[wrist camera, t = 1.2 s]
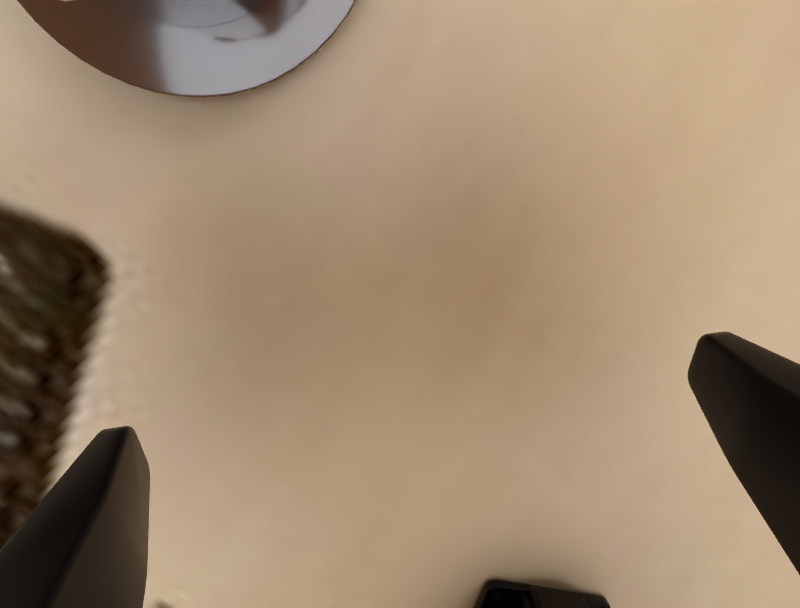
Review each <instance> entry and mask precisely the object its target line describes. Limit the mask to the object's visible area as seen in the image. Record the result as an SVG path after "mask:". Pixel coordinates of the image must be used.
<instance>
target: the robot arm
mask: <svg viewBox="0 0 800 608" xmlns="http://www.w3.org/2000/svg"><path fill="white" fill-rule="evenodd" d="M688 381H689V384H690V387H691V389H692V391H693V393H694V395H695V397H696V399H697V401H698V403H699V405H700V407H701V409H702V411H703V413H704V415H705V417H706V419H707V421H708V423H709V425H710V427H711V429H712V431H713V433H714V435H715V437H716V439H717V441H718V443H719V445H720V447H721V449H722V451H723V453H724V455H725V457H726V458H727V460H728V462H729V464H730V466H731V467H732V469H733V471H734V472H735V474H736V476H737V477H738V479H739V480H740V482H741V483H742V485H743V487H744V488H745V490H746V491H747V493H748V494H749V496H750V498H751V499H752V501H753V502H754V504H755V505H756V507H757V509H758V510H759V512H760V513H761V515H762V516H763V518H764V520H765V521H766V523H767V524H768V526H769V527H770V529H771V531H772V532H773V534H774V535H775V537H776V538H777V540H778V542H779V543H780V545H781V546H782V548H783V549H784V551H785V553H786V554H787V556H788V557H789V559H790V560H791V562H792V564H793V565H794V567H795V568H796V570H797V571H798V573H799V575H800V364H798V363H795V362H793V361H791V360H789V359H787V358H785V357H782V356H780V355H778V354H776V353H774V352H771V351H769V350H767V349H765V348H763V347H760V346H758V345H756V344H754V343H752V342H750V341H747V340H745V339H743V338H741V337H739V336H736V335H734V334H732V333H730V332H717V333H711V334H705V335H703V336H702V337H701V338H700V339H699V340H698V343H697V346H696V349H695V351H694V354H693V357H692V360H691V363H690V366H689V369H688ZM149 493H150V471H149V465H148V462H147V459H146V457H145V454H144V452H143V449H142V447H141V444H140V442H139V440H138V437H137V435H136V433H135V431H134V429H133V428H132V427H130V426H123V427H117V428H111V429H105V430H102V431H101V432H100V433H98V434H97V435H96V437H95V438H94V439H93V440H92V441H91V442H90V444H89V445H88V446H87V447H86V448H85V450H84V451H83V452H82V453H81V454H80V456H79V457H78V458H77V459H76V460H75V462H74V463H73V464H72V465H71V466H70V467H69V469H68V470H67V471H66V472H65V473H64V475H63V476H62V477H61V478H60V479H59V481H58V482H57V483H56V484H55V485H54V487H53V488H52V489H51V490H50V491H49V492H48V494H47V495H46V496H45V497H44V498H43V500H42V501H41V502H40V503H39V504H38V506H37V507H36V508H35V509H34V510H33V512H32V513H31V514H30V515H29V516H28V517H27V519H26V520H25V521H24V522H23V523H22V525H21V526H20V527H19V528H18V529H17V531H16V532H15V533H14V534H13V535H12V537H11V538H10V539H9V540H8V541H7V542H6V544H5V545H4V546H3V547H2V548H1V550H0V608H142V607H143V600H144V594H145V586H146V577H147V560H148V527H149ZM493 591H496V592H493ZM475 608H610V605H609V603H608V602H607V600H606V599H605V597H602V596H597V595H591V594H584V593H578V592H571V591H565V590H559V589H552V588H546V587H540V586H533V585H527V584H520V583H514V582H508V581H501V580H492V581H489V582H488V583H486V585H485V586H484V588H483V590H482V593H481V595H480V597H479V599H478V602H477V604H476V606H475Z"/></svg>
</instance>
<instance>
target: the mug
mask: <svg viewBox="0 0 800 608" xmlns="http://www.w3.org/2000/svg"><path fill="white" fill-rule="evenodd" d="M17 1H18V2H19V3H20V4H21V5H22V7H23V8H24V9H25V10H26V11H27V12H28V14H29V15H30V16H31V17H32V18H33V19H34V20H35V22H37V23H38V24H39V25H40V26H41V27H42V28H43V29H44V30H45V31H46V32H47V33H48V34H49V35H50V36H52V37H53V38H54V39H55V40H56V41H57V42H58V43H59V44H61V45H62V46H63V47H65V48H66V49H68V50H69V51H70V52H72V53H73V54H74V55H76V56H77V57H78V58H80V59H81V60H83V61H84V62H86V63H88V64H89V65H91V66H93V67H95V68H96V69H98V70H100V71H101V72H103V73H105V74H107V75H109V76H112V77H114V78H116V79H118V80H121V81H123V82H125V83H128V84H130V85H133V86H136V87H140V88H143V89H146V90H150V91H153V92H157V93H163V94H169V95H175V96H181V97H215V96H225V95H232V94H236V93H240V92H245V91H249V90H253V89H256V88H259V87H261V86H264V85H266V84H269V83H271V82H274V81H276V80H278V79H280V78H282V77H284V76H285V75H287V74H289V73H291V72H292V71H294V70H296V69H298V68H299V67H300V66H301V65H303V64H304V63H305V62H307V61H308V60H309V59H310V58H312V57H313V56H314V55H316V54H317V53H318V52H319V51H320V50H321V48H322V47H323V46H324V45H325V44H326V43H327V42H328V41H329V40H330V39H331V38H332V37H333V36H334V35H335V33H336V32H337V30H338V29H339V28H340V26H341V25H342V24H343V22H344V21H345V20H346V18H347V17H348V15H349V13H350V11H351V10H352V8H353V6H354V4H355V2H356V0H17Z"/></svg>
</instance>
